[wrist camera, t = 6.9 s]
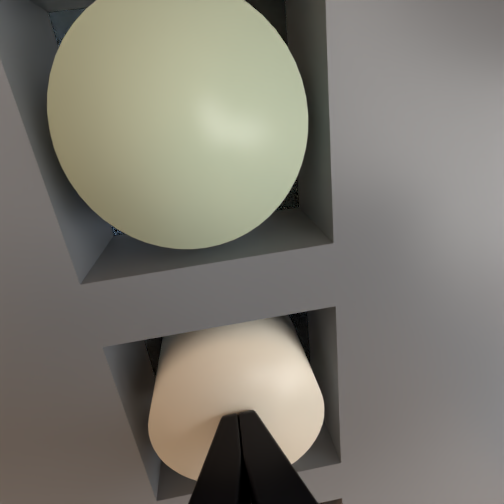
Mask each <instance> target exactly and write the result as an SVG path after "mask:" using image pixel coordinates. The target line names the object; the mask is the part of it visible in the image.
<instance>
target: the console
mask: <svg viewBox="0 0 504 504" xmlns="http://www.w3.org/2000/svg"><path fill="white" fill-rule="evenodd" d="M95 1H96V0H0V504H188V502H189V500H190V497H191V495H192V492H193V489H194V487H195V484H196V482H197V481H196V480H193V479H190V478H187V477H185V476H183V475H181V474H179V473H177V472H176V471H174V470H172V469H171V468H170V467H169V466H167V465H166V464H165V463H164V462H163V461H162V460H161V459H160V458H159V456H158V455H157V453H156V452H155V450H154V448H153V446H152V444H151V441H150V437H149V432H148V421H149V414H150V408H151V403H152V397H153V391H154V385H155V380H156V379H155V375H154V372H153V369H152V365H151V362H150V358H149V355H148V352H147V348H146V345H145V341H144V340H147V339H152V338H158V337H164V336H169V335H175V334H181V333H186V332H192V331H198V330H203V329H209V328H215V327H220V326H226V325H232V324H237V323H243V322H249V321H255V320H260V319H266V318H272V317H277V316H283V315H289V314H294V313H300V312H306V311H307V321H308V335H309V349H310V363H311V369H312V371H313V374H314V376H315V379H316V381H317V383H318V386H319V388H320V391H321V394H322V397H323V401H324V419H323V424H322V427H321V430H320V432H319V434H318V436H317V438H316V440H315V441H314V443H313V444H312V446H311V447H310V448H309V449H308V450H307V451H306V453H305V454H304V455H303V456H301V457H300V458H299V459H298V460H297V461H296V462H294V463H293V464H292V466H293V467H294V468H295V470H296V471H297V473H298V474H299V476H300V477H301V479H302V480H303V482H304V483H305V485H306V486H307V488H308V489H309V490H310V492H311V493H312V495H313V496H314V498H315V499H316V501H317V502H318V503H321V504H504V0H285V13H286V27H287V41H288V49H289V51H290V53H291V54H292V56H293V58H294V60H295V62H296V65H297V67H298V70H299V73H300V75H301V78H302V82H303V86H304V90H305V94H306V100H307V108H308V136H307V144H306V150H305V154H304V158H303V162H302V165H301V168H300V170H299V173H298V176H297V181H298V195H299V207H297V208H291V209H284V210H278V211H274V212H273V213H272V214H271V215H270V216H269V217H268V218H267V219H266V220H265V221H263V222H262V223H261V224H260V225H259V226H257V227H256V228H254V229H253V230H251V231H250V232H248V233H247V234H245V235H243V236H241V237H239V238H237V239H235V240H232V241H229V242H226V243H223V244H221V245H216V246H212V247H207V248H199V249H174V248H167V247H160V246H157V245H153V244H149V243H146V242H143V241H141V240H138V239H136V238H133V237H131V236H129V235H127V234H123V235H116V236H114V235H113V232H112V229H111V225H110V224H109V223H108V222H106V221H105V220H103V219H102V218H101V217H100V216H99V215H98V214H97V213H95V212H94V211H93V210H92V209H91V208H90V207H89V206H88V205H87V203H86V202H85V201H84V200H83V199H82V198H81V197H80V196H79V194H78V193H77V191H76V190H75V189H74V187H73V186H72V184H71V183H70V181H69V180H68V178H67V176H66V174H65V172H64V170H63V169H62V167H61V165H60V162H59V160H58V157H57V155H56V152H55V150H54V146H53V142H52V138H51V135H50V130H49V123H48V115H47V91H48V84H49V77H50V72H51V69H52V65H53V62H54V58H55V55H56V53H57V51H58V49H59V48H58V44H57V41H56V37H55V34H54V31H53V27H52V24H51V20H50V17H49V14H48V12H53V11H62V10H71V9H80V8H88V7H89V6H90V5H91V4H93V3H94V2H95ZM251 504H252V503H251Z"/></svg>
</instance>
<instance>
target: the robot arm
mask: <svg viewBox="0 0 504 504" xmlns="http://www.w3.org/2000/svg"><path fill="white" fill-rule="evenodd" d="M251 503H252V504H318V502H317V501H316V499H315V498H314V496H313V495H312V493H311V492H310V490H309V489H308V488H307V486H306V485H305V483H304V482H303V480H302V479H301V477H300V476H299V474H298V473H297V471H296V470H295V468H294V467H293V466H292V464H291V463H290V461H289V460H288V458H287V457H286V455H285V454H284V452H283V451H282V449H281V448H280V446H279V445H278V443H277V442H276V441H275V439H274V438H273V436H272V435H271V433H270V432H269V430H268V429H267V427H266V426H265V424H264V423H263V421H262V420H261V418H260V417H259V416H258V414H257V413H256V411H254V410H249V411H244V412H240V413H239V416H238V414H237V413H233V414H228V415H224V416H222V417H221V419H220V422H219V424H218V427H217V429H216V432H215V435H214V437H213V440H212V442H211V445H210V448H209V450H208V453H207V456H206V458H205V461H204V463H203V466H202V469H201V471H200V474H199V476H198V479H197V482H196V484H195V487H194V489H193V492H192V495H191V497H190V500H189V502H188V504H251Z"/></svg>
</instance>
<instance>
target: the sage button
mask: <svg viewBox="0 0 504 504" xmlns="http://www.w3.org/2000/svg"><path fill="white" fill-rule="evenodd" d="M47 115H48V123H49V130H50V135H51V138H52V142H53V146H54V150H55V152H56V155H57V157H58V160H59V162H60V165H61V167H62V169H63V170H64V172H65V174H66V176H67V178H68V180H69V181H70V183H71V184H72V186H73V187H74V189H75V190H76V191H77V193H78V194H79V196H80V197H81V198H82V199H83V200H84V201H85V202H86V203H87V205H88V206H89V207H90V208H91V209H92V210H93V211H94V212H95V213H97V214H98V215H99V216H100V217H101V218H102V219H103V220H105V221H106V222H108V223H109V224H110V225H112V226H113V227H115V228H116V229H118V230H120V231H121V232H123V233H125V234H127V235H129V236H131V237H133V238H136V239H138V240H141V241H143V242H146V243H149V244H153V245H157V246H160V247H167V248H174V249H199V248H207V247H212V246H216V245H221V244H223V243H226V242H229V241H232V240H235V239H237V238H239V237H241V236H243V235H245V234H247V233H248V232H250V231H251V230H253V229H254V228H256V227H257V226H259V225H260V224H261V223H262V222H263V221H265V220H266V219H267V218H268V217H269V216H270V215H271V214H272V213H273V212H274V211H275V210H276V209H277V208H278V207H279V205H280V204H281V203H282V201H283V200H284V199H285V197H286V196H287V194H288V193H289V191H290V189H291V188H292V186H293V184H294V182H295V180H296V178H297V176H298V173H299V170H300V168H301V165H302V162H303V158H304V154H305V150H306V144H307V136H308V108H307V100H306V94H305V90H304V86H303V82H302V78H301V75H300V73H299V70H298V67H297V65H296V62H295V60H294V58H293V56H292V54H291V53H290V51H289V49H288V47H287V45H286V44H285V42H284V41H283V39H282V38H281V36H280V35H279V34H278V32H277V31H276V29H275V28H274V27H273V26H272V25H271V24H270V23H269V22H268V21H267V19H266V18H265V17H264V16H263V15H262V14H261V13H259V12H258V11H257V10H256V9H255V8H253V7H252V6H251V5H250V4H249V3H247V2H246V1H244V0H96V1H95V2H94V3H93V4H91V5H90V6H89V7H88V8H86V9H85V11H84V12H83V13H82V14H81V15H80V16H79V17H78V18H77V19H76V20H75V22H74V23H73V24H72V26H71V27H70V29H69V30H68V32H67V33H66V35H65V36H64V38H63V40H62V42H61V44H60V46H59V49H58V51H57V53H56V55H55V58H54V62H53V65H52V69H51V72H50V77H49V84H48V91H47Z"/></svg>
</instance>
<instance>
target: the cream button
mask: <svg viewBox="0 0 504 504" xmlns="http://www.w3.org/2000/svg"><path fill="white" fill-rule="evenodd" d="M249 410H254V411H256V413H257V414H258V416H259V417H260V418H261V420H262V421H263V423H264V424H265V426H266V427H267V429H268V430H269V432H270V433H271V435H272V436H273V438H274V439H275V441H276V442H277V443H278V445H279V446H280V448H281V449H282V451H283V452H284V454H285V455H286V457H287V458H288V460H289V461H290V463H291V464H293V463H294V462H296V461H297V460H298V459H299V458H300V457H301V456H303V455H304V454H305V453H306V451H307V450H308V449H309V448H310V447H311V446H312V444H313V443H314V441H315V440H316V438H317V436H318V434H319V432H320V430H321V427H322V424H323V419H324V401H323V397H322V394H321V391H320V388H319V386H318V383H317V381H316V379H315V376H314V374H313V371H312V369H311V366H310V364H309V362H308V359H307V357H306V354H305V352H304V349H303V347H302V345H301V342H300V340H299V337H298V335H297V332H296V330H295V328H294V325H293V323H292V321H291V319H290V317H289V316H288V315H283V316H277V317H272V318H266V319H260V320H255V321H249V322H243V323H237V324H232V325H226V326H220V327H215V328H209V329H203V330H198V331H192V332H186V333H181V334H175V335H169V336H164V337H163V339H162V345H161V351H160V357H159V362H158V368H157V374H156V380H155V385H154V391H153V397H152V403H151V408H150V414H149V421H148V432H149V437H150V441H151V444H152V446H153V448H154V450H155V452H156V453H157V455H158V456H159V458H160V459H161V460H162V461H163V462H164V463H165V464H166V465H167V466H169V467H170V468H171V469H172V470H174V471H176V472H177V473H179V474H181V475H183V476H185V477H187V478H190V479H193V480H196V481H197V479H198V476H199V474H200V471H201V469H202V466H203V463H204V461H205V458H206V456H207V453H208V450H209V448H210V445H211V442H212V440H213V437H214V435H215V432H216V429H217V427H218V424H219V422H220V419H221V417H222V416H224V415H228V414H233V413H237V414H238V416H239V413H240V412H244V411H249Z"/></svg>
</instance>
